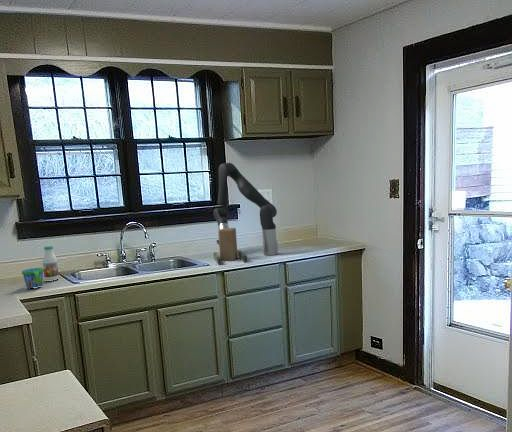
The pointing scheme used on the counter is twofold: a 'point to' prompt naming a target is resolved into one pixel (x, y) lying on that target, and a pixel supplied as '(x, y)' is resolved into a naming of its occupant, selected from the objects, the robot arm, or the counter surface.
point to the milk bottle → (50, 264)
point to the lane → (240, 255)
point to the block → (227, 244)
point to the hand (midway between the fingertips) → (227, 251)
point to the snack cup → (33, 277)
